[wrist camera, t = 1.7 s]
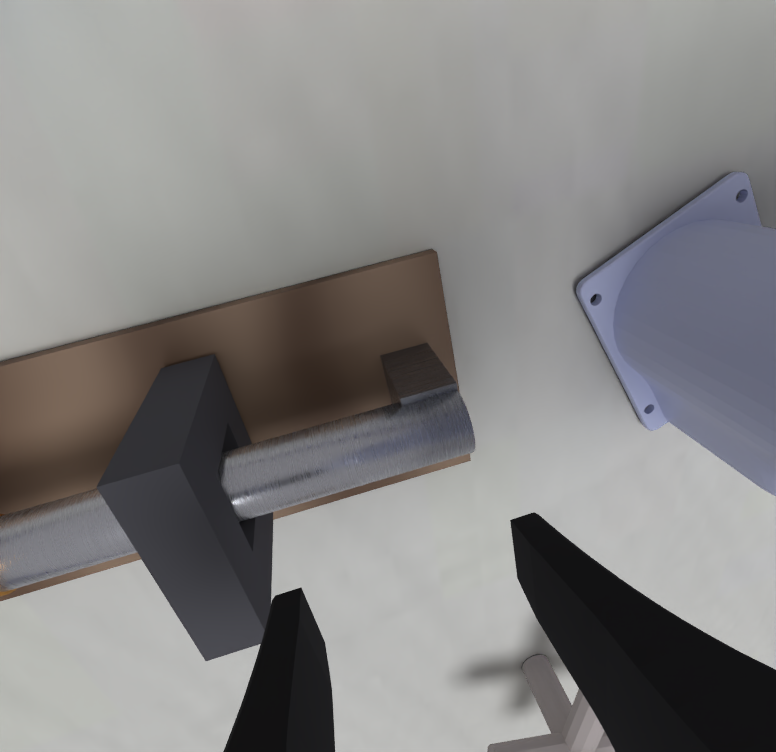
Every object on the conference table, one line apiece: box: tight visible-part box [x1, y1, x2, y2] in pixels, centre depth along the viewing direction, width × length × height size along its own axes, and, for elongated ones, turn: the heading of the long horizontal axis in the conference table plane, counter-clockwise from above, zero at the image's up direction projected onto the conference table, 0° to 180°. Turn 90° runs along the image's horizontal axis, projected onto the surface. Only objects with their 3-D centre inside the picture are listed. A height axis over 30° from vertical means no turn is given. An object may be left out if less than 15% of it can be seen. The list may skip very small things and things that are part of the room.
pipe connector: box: [488, 655, 615, 752], centre depth 28 cm, size 10×10×10 cm
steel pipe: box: [0, 343, 475, 596], centre depth 17 cm, size 22×3×5 cm, turn 102°
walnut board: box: [0, 249, 471, 601], centre depth 20 cm, size 24×10×1 cm, turn 102°
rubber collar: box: [96, 354, 273, 661], centre depth 16 cm, size 2×7×7 cm, turn 12°
